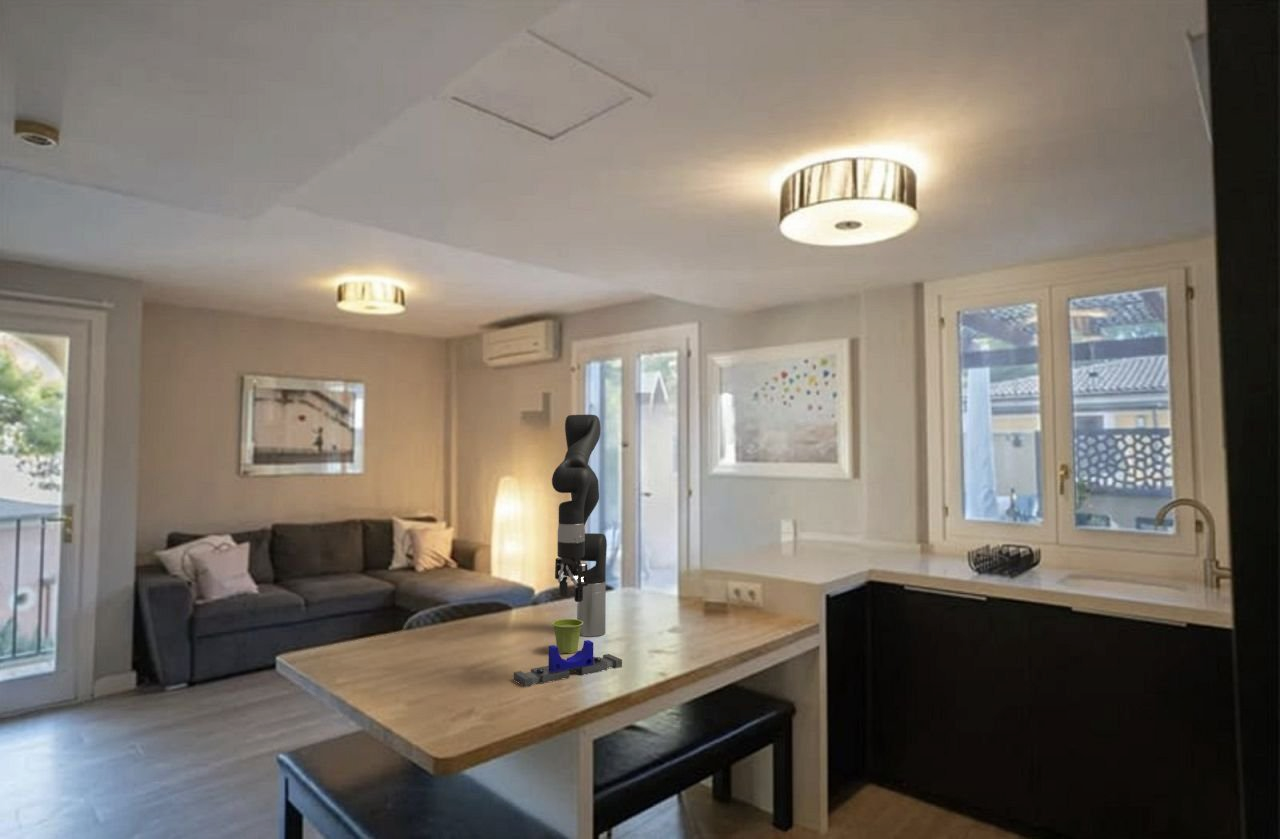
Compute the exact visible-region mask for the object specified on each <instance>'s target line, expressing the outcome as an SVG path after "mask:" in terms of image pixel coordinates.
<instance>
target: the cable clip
mask: <svg viewBox="0 0 1280 839" xmlns="http://www.w3.org/2000/svg"><path fill="white" fill-rule="evenodd" d="M593 657H594V642H593V641H591V640H589V639H588V640H584V641H583V645H582V647H581V650H577V652H575V653H573V655H572V656H569V657H567V658H566V659H564V658H562V657H561V654H560V653H559V652H558V647H557V645H554V644H551V645H548V666H549V669H550V670H552V671H557V670H563V669H568V670H571V669H570V668H576V667H582V666H588V665H593Z"/></svg>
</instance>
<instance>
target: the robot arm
mask: <svg viewBox="0 0 1280 839" xmlns="http://www.w3.org/2000/svg"><path fill="white" fill-rule="evenodd" d="M601 430H602V428H601V421H600V418H599V416H598V415H595V414H569V415H567V417H566V418H565V422H564V434H565V440H566V448H567V451H566V453H565V456H564V459H563V461H562V462H561V463H560V464H559V465H558V466H557V467H556V468H555V470H554V471H553V473H552V478H551V484H552V488H553V489H554V491H555V492H557V493H559V494H570V498H571V500H567V501H564V502H561V503H559V505H558V526H557V528H558V529H557V557H556V558H555V564H554V568H555V570H554V578H555V580H557V582H558V583H559V585H558V586H559V587H558V588H559V591H558V593H559V596H560V597H567V596H568V588H569V587H568V584H569V582H568V580H570V581H571V582H573V585H574V589H573V590H574V597H573V598H574V599H573V600H574V602H575V603H577V605H576V606H577V607H576V610H577V612H576V616H577V617H576V619H577V620H581V621H583V625H582V627H581V630H580V636H583V637H600V636H604V635H605V634H606V610H607V609H606V606H607V605H606V603H607V602H606V598H607V597H606V590H607V589H606V583H607V582H606V578H607V577H606V575H607V573H606V569H607V566H606V565H607V564H606V563H607V545H608V544H607V542H608V541H607V538H606V535H605V534H604V533H593V532H591V533H589V532H588V533H586V531H585V525H586V524H587V521H588V520H589V518H590V516H591V514H592V513H593V511H594V510H595V509H596V506H597V505H598V502H599V500H600V489H599V488H600V487H599V479H598V476H597V474H596V473H595V471H594V470H593V468H591V466H590V465H589V462H590V458H591V455H592V453H593V451H594V449H596V448H595V447H596V446H597V444H598V442H599V441H600V436H601ZM582 562H595V565H594V566H593V567H591V568H589V569H588V563H582Z"/></svg>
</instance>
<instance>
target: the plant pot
mask: <svg viewBox="0 0 1280 839" xmlns="http://www.w3.org/2000/svg"><path fill="white" fill-rule="evenodd" d="M582 625H583V621H581V620H577V618H576V619H575V618H565V619H563V618H562V619H557V620H554V621H553V622H552V626H553V630H554V633H555V642H556V647H558V652H560V653H559V654H562V653H564V654H568V655H571V654H570V653H572V654H576V653H577V651H579V650H578V648H579V642H580V641H579V640H580V636H581V635H580V630H581V627H582Z"/></svg>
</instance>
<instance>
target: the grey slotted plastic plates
mask: <svg viewBox="0 0 1280 839" xmlns="http://www.w3.org/2000/svg"><path fill="white" fill-rule="evenodd" d="M621 666H622V667H623V659H622V658H620V657H617V656H614V655H612V654H609V653H606V654H602V657H600V656H599V657H598V656H597V657H596V656H593V665H588V666H582V667H576V668H570V669H563V670H557V671H552V670H550V669H549V665H545V666H539V667H535V668H530V671H529V672H528V671H527V672H523V671H521V670H519V671H514V672H513V681H514V680H515V682H516V681H517V682H516V683H518V682H519V683H520V684H519V683H518V684H519V685H521V684H522V685H523V687H524V686H525V687H524V688H527V687H526V686H528V687H532V686H533V685H534V683H536V684H540V683H539V682H542V683H541V684H545V683H544V682H547V683H549V682H548V681H552V682H554V681H553V680H557V679H562V678H566V679H569V678H570V670H571V669H572V670H571V671H573V670H574V671H573V672H575V671H576V672H575V673H577V672H578V673H577V674H579V673H580V674H579V675H581V674H582V675H581V676H585V675H584V674H586V675H589V674H588V673H590V674H595V673H599V672H598V671H600V672H603V671H602V670H605V671H608V669H610V668H609V667H613V668H615V667H619V668H622V667H621ZM607 668H608V669H607ZM594 672H595V673H594ZM568 677H569V678H568ZM562 680H563V679H562ZM557 681H558V680H557ZM522 685H521V686H522ZM531 685H532V686H531Z"/></svg>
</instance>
